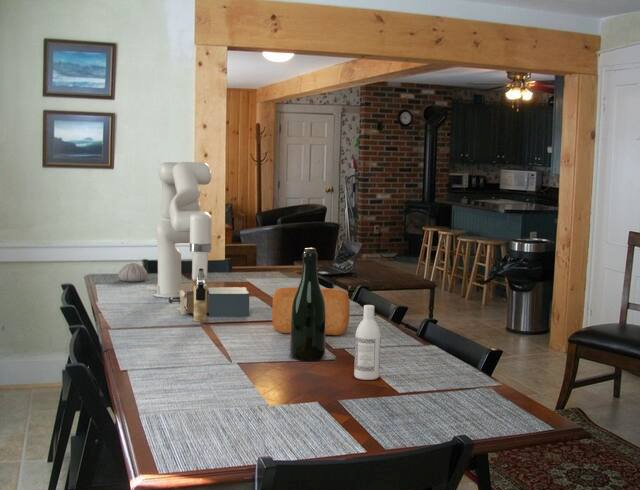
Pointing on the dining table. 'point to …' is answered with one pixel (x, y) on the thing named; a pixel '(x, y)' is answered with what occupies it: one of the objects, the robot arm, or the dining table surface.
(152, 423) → the dining table surface
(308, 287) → the green wine bottle
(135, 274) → the sea urchin shell
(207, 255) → the robot arm
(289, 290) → the bread
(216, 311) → the cabinet
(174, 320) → the dining table surface
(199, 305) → the cylinder
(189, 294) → the drawer
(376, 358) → the bath foam
